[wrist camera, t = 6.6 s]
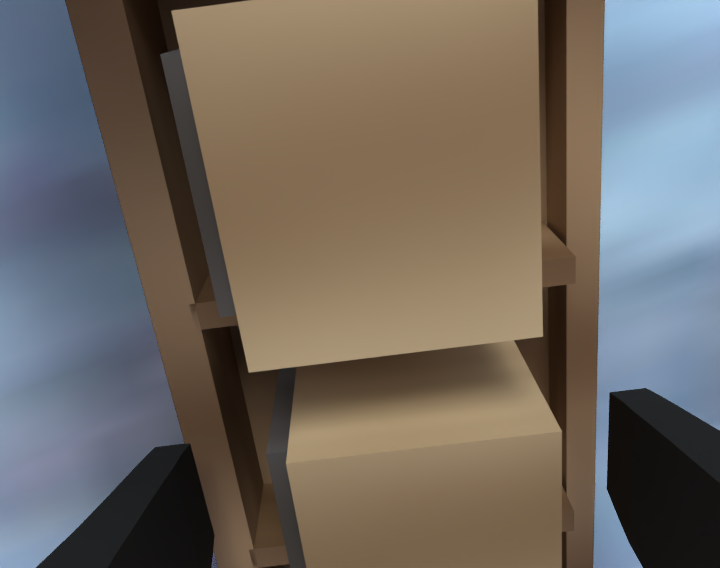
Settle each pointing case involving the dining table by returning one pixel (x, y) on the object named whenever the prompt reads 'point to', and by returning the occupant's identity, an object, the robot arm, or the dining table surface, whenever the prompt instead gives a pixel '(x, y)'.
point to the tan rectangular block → (417, 462)
